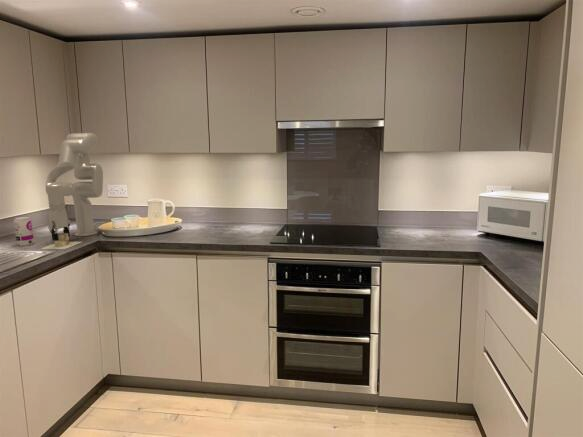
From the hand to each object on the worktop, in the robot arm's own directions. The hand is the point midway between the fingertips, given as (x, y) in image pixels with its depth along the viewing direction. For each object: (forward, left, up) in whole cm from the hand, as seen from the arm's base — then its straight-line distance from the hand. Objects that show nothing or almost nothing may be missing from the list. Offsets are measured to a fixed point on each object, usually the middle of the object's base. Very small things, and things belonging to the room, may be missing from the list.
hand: (61, 238), depth 241 cm
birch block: (0, 0, -4) cm, 4 cm away
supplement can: (-2, -23, -4) cm, 23 cm away
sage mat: (0, 0, -4) cm, 4 cm away
